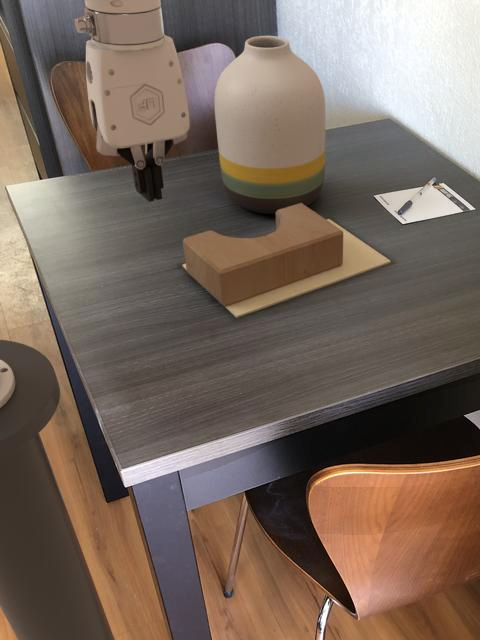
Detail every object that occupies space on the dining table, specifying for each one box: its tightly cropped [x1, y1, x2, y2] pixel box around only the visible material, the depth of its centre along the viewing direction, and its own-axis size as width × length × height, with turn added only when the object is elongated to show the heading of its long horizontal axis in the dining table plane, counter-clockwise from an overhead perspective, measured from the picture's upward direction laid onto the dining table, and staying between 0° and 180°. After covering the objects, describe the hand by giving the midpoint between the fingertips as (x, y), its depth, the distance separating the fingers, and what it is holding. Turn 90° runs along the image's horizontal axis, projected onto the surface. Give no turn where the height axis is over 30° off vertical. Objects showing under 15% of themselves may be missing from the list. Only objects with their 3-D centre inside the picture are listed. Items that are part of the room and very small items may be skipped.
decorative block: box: [182, 203, 343, 307], centre depth 103 cm, size 11×6×20 cm
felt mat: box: [181, 218, 391, 319], centre depth 107 cm, size 26×16×1 cm, turn 125°
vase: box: [213, 35, 326, 215], centre depth 114 cm, size 17×17×24 cm
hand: (150, 196), depth 88 cm, fingers closed
